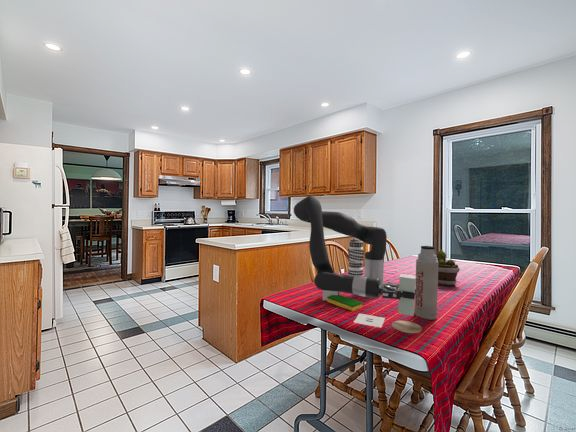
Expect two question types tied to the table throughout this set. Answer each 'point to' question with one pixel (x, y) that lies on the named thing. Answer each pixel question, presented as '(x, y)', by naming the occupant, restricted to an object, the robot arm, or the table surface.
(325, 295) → the medicine bottle
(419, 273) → the thermos bottle
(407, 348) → the table surface
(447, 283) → the flowerpot
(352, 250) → the decorative candle
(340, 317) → the table surface
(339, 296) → the dish sponge
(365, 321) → the tile
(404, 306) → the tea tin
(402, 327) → the cork coaster
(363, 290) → the robot arm
